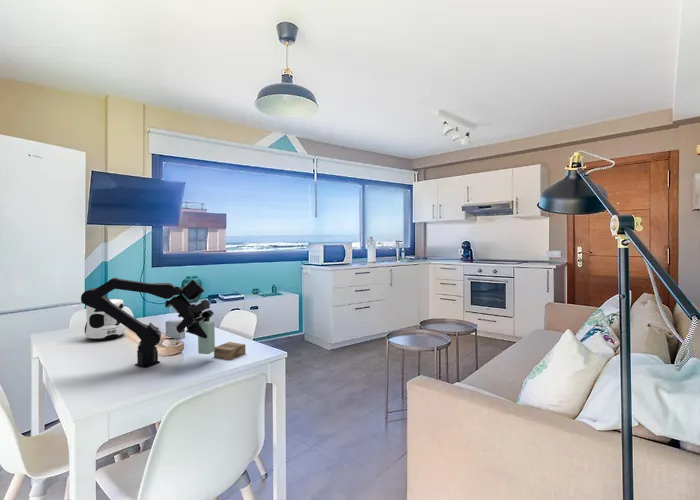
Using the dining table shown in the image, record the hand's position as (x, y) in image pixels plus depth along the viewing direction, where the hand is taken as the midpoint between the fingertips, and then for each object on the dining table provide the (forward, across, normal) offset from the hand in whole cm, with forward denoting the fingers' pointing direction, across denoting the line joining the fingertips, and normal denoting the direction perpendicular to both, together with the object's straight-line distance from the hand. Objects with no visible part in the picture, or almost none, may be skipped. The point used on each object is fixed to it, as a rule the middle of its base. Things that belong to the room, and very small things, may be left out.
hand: (209, 336), depth 149 cm
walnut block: (+10, +9, +4) cm, 14 cm away
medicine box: (-18, +30, +33) cm, 48 cm away
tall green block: (+4, 0, +6) cm, 7 cm away
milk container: (-42, +25, +57) cm, 75 cm away
